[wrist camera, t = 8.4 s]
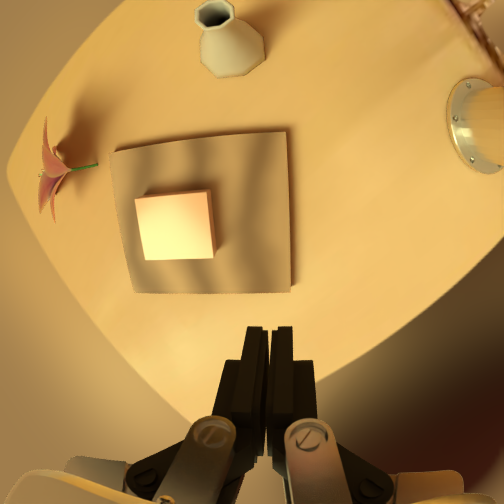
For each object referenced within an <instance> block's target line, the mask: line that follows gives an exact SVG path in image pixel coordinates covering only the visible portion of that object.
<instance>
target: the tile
mask: <svg viewBox="0 0 504 504" xmlns="http://www.w3.org/2000/svg"><path fill="white" fill-rule="evenodd" d="M135 205H136V211H137V218H138V224H139V229H140V235H141V240H142V246H143V251H144V256H145V260H167V259H203V258H214V256H215V254H216V252H217V246H216V237H215V228H214V218H213V208H212V198H211V189H203V190H191V191H180V192H170V193H160V194H151V195H142V196H140V197H138V198H136V199H135Z"/></svg>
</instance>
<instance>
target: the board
mask: <svg viewBox="0 0 504 504" xmlns="http://www.w3.org/2000/svg"><path fill="white" fill-rule="evenodd" d="M109 161H110V170H111V178H112V185H113V192H114V198H115V205H116V211H117V216H118V222H119V227H120V233H121V238H122V243H123V247H124V252H125V257H126V261H127V265H128V270H129V274H130V278H131V282H132V286H133V290H134V293H158V294H242V293H285V292H291V269H290V217H289V187H288V164H287V144H286V132H267V133H250V134H236V135H224V136H214V137H205V138H196V139H188V140H181V141H174V142H167V143H161V144H154V145H149V146H143V147H137V148H132V149H127V150H122V151H117V152H112V153H109ZM203 189H211V198H212V208H213V218H214V228H215V237H216V246H217V252H216V254H215V256H214V258H203V259H167V260H145V256H144V251H143V246H142V240H141V235H140V229H139V224H138V218H137V211H136V205H135V199H136V198H138V197H140V196H142V195H151V194H160V193H170V192H180V191H191V190H203Z"/></svg>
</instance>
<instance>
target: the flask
mask: <svg viewBox="0 0 504 504" xmlns="http://www.w3.org/2000/svg"><path fill="white" fill-rule="evenodd" d="M195 23H196V24H197V25H199V26H200V27H201V28H202V29H203V33H202V35H201V38H200V60H201V63H202V64H203V65H204V66H205V67H206V68H207V69H208V70H209V71H210V72H211V73H212V74H213V75H214V76H215V77H216V78H225V77H234V76H244V75H246V74H247V73H248V72H250V71H251V70H252V69H254V68H255V67H256V66H258V65H259V64H260V63H262V62H263V61H264V60H265V52H264V40H263V37H262V36H261V35H260V34H259V33H258V32H257V31H256V30H255V29H254V28H252V27H251V26H250V25H249V24H248V23H247V22H245V21H243V20H240V19H237V18H235V12H234V6H233V5H232V4H230V3H229V2H228V1H226V0H207V1H206V2H204V3H203V4H202V5H200V6H199V7H197V8H196V9H195Z"/></svg>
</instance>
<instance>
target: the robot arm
mask: <svg viewBox="0 0 504 504" xmlns="http://www.w3.org/2000/svg"><path fill="white" fill-rule="evenodd" d="M447 123H448V130H449V133H450V137H451V140H452V142H453V145H454V147H455V149H456V151H457V153H458V154H459V156H460V157H461V159H462V160H463V161H464V163H466V164H467V165H468V166H469V167H470V168H471V169H473V170H475V171H477V172H480V173H484V174H494V173H496V172H498V171H500V170H501V169H502V168H504V86H501V87H493V86H492V85H491V84H489V83H488V82H486V81H484V80H482V79H478V78H469V79H465V80H462V81H461V82H459V83H458V84H457V85H456V86H455V87H454V88H453V90H452V92H451V93H450V96H449V100H448V105H447ZM266 431H267V450H268V456H272V461H273V462H272V463H273V469H274V470H275V471H276V472H278V473H279V474H280V475H281V476H282V477H283V486H284V494H285V501H286V504H497V502H496V501H495V500H494V499H493V498H492V497H490V496H487V495H484V494H476V493H464V491H463V490H464V487H463V479H462V477H461V475H460V474H459V473H457V472H455V471H451V470H445V471H434V472H418V473H399V474H398V475H388V474H386V473H385V472H383V471H382V470H380V469H378V468H376V467H375V466H373V465H371V464H370V463H368V462H366V461H365V460H363V459H361V458H360V457H358V456H357V455H355V454H354V453H352V452H350V451H349V450H347V449H346V448H344V447H343V446H341V445H340V444H338V443H337V442H336V441H335V438H334V434H333V432H332V430H331V428H330V427H329V426H328V425H327V424H326V423H325V422H323V421H321V420H318V419H317V405H316V390H315V378H314V366H313V360H299V361H293V330H292V326H282V327H278V330H272V339H271V352H270V365H269V345H268V330H263V329H262V327H254V326H248V327H247V331H246V336H245V341H244V346H243V351H242V356H241V360H226V361H225V365H224V368H223V372H222V376H221V380H220V384H219V388H218V392H217V396H216V399H215V403H214V407H213V411H212V415H211V416H205V417H203V418H200V419H198V420H197V421H196V422H194V423H193V425H192V426H191V427H190V429H189V431H188V433H187V435H186V437H185V439H184V440H183V441H181V442H178V443H177V444H174V445H172V446H171V447H168V448H166V449H164V450H162V451H160V452H158V453H156V454H154V455H151V456H149V457H147V458H145V459H143V460H140V461H138V462H136V463H134V464H127V463H126V462H125V461H115V460H106V459H99V458H92V457H85V456H75V457H73V458H71V459H70V460H69V461H68V462H67V464H66V465H65V469H64V472H61V471H56V470H46V469H41V470H32V471H29V472H27V473H25V474H24V475H23V476H21V477H20V478H19V480H18V481H17V482H16V484H15V485H14V486H13V488H12V489H11V491H10V492H9V494H8V496H7V498H6V500H5V501H4V503H3V504H235V502H236V500H237V497H238V494H239V491H240V488H241V485H242V482H243V480H244V477H245V473H246V472H248V471H249V470H251V469H252V468H253V467H254V463H257V456H263V453H264V443H265V433H266Z"/></svg>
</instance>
